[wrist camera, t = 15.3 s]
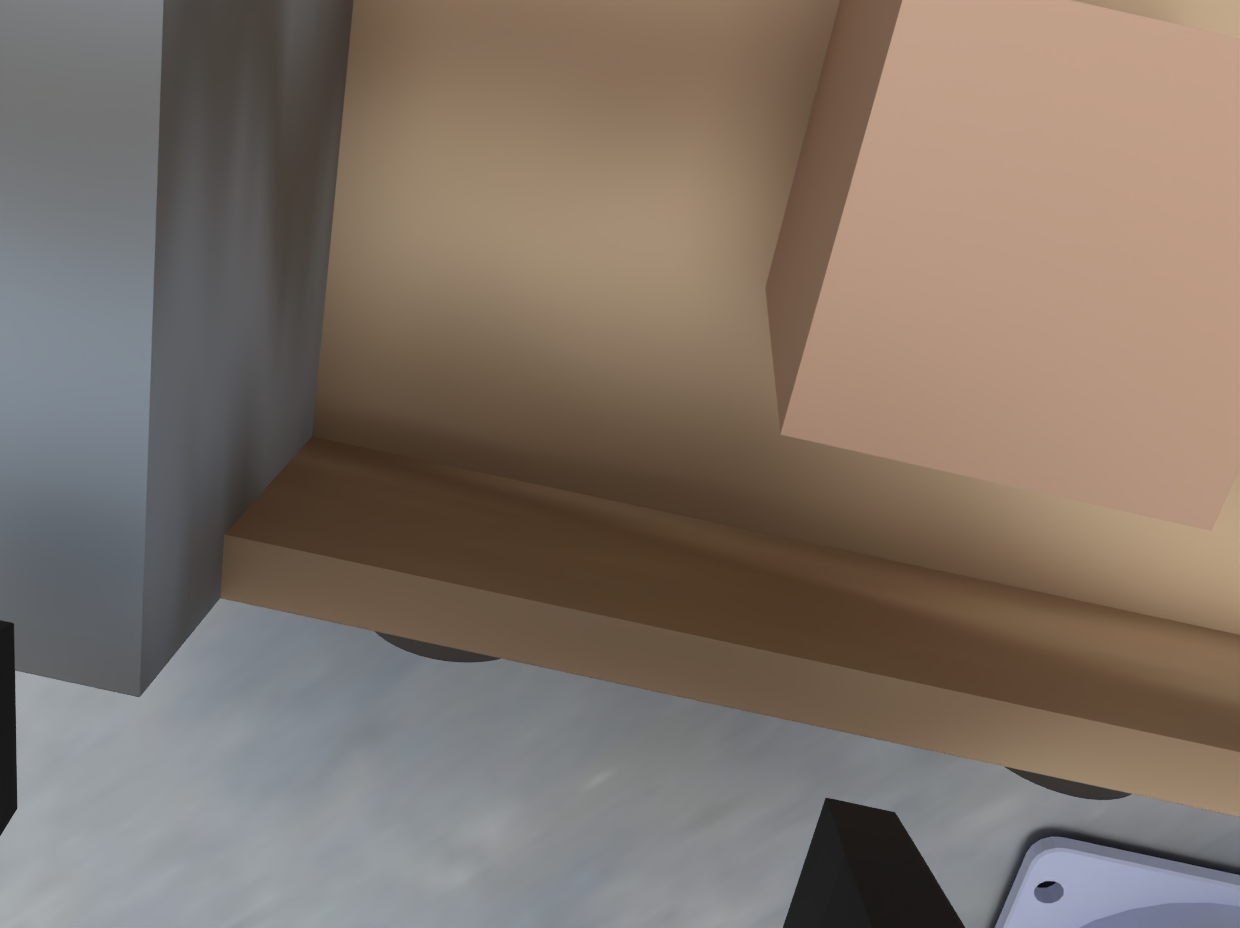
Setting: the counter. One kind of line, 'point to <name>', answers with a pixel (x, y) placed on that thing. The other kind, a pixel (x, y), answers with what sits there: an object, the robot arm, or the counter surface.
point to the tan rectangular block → (1020, 252)
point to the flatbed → (526, 386)
